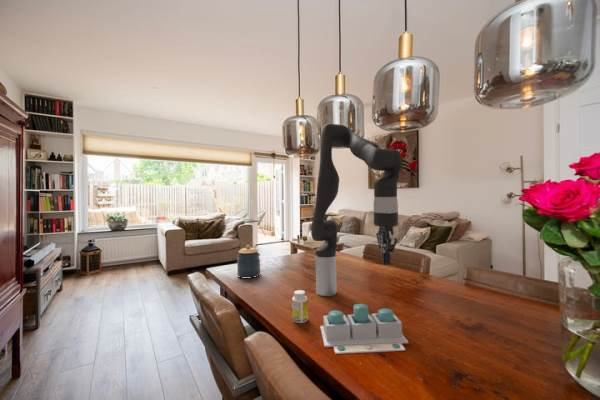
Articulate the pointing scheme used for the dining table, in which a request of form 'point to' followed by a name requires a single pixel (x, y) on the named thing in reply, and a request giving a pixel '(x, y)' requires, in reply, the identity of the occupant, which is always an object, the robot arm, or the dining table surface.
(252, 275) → the canister
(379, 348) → the card
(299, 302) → the supplement bottle
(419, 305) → the dining table surface
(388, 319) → the button
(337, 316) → the button
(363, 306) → the button
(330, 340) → the board
